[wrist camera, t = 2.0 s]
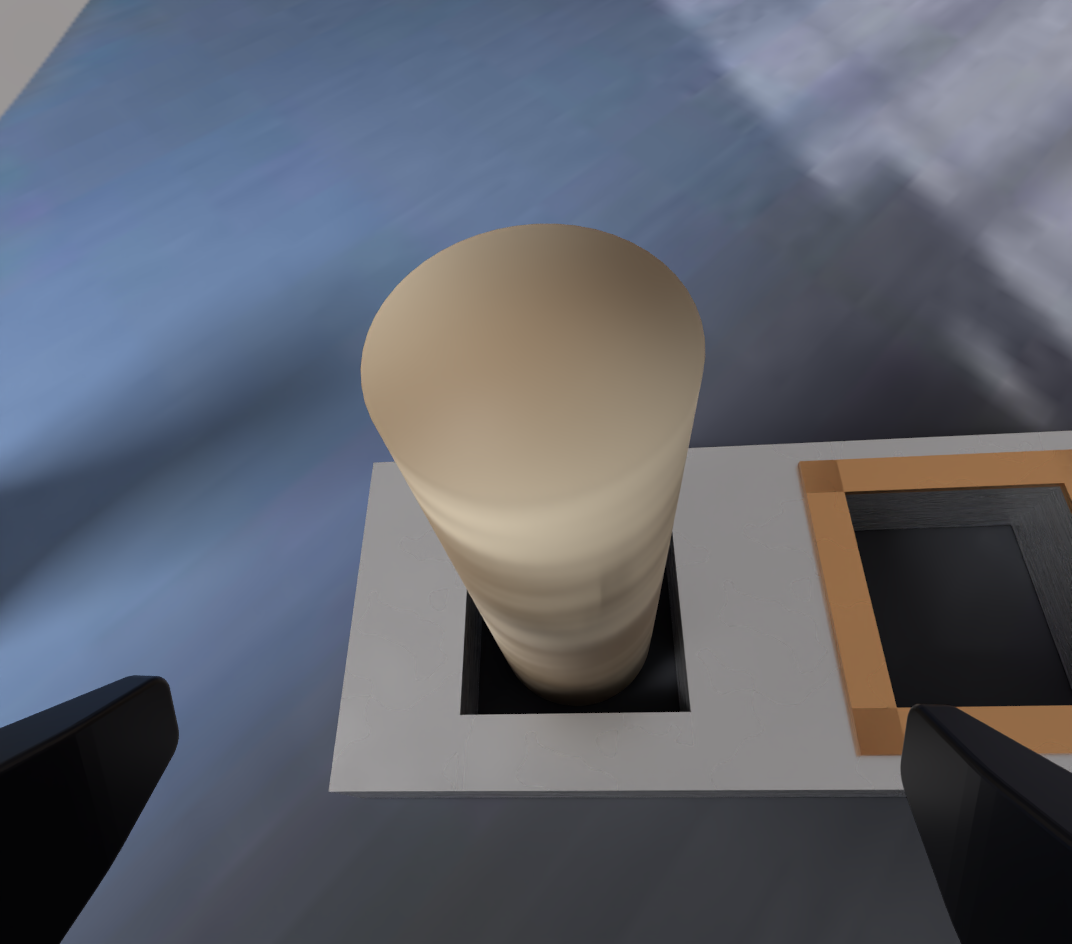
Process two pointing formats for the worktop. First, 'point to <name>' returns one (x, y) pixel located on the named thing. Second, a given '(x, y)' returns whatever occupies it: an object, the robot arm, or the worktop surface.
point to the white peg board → (706, 632)
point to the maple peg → (545, 437)
